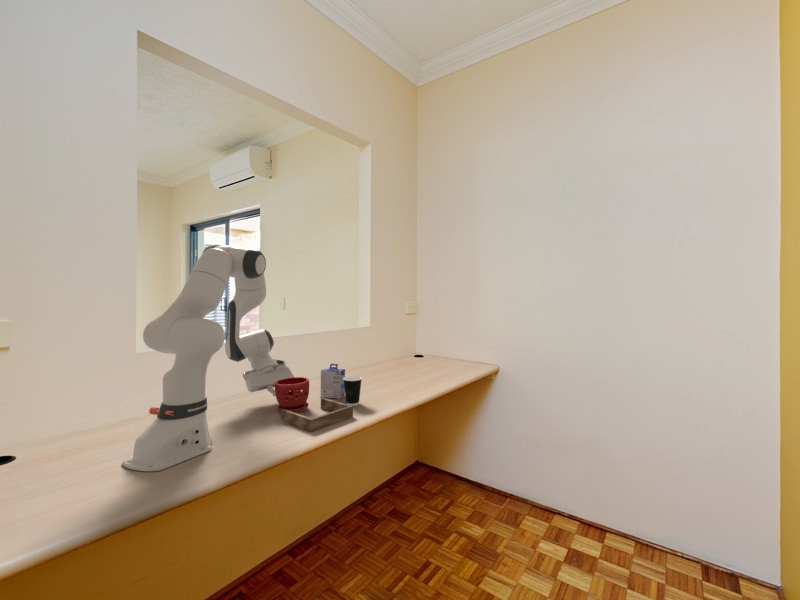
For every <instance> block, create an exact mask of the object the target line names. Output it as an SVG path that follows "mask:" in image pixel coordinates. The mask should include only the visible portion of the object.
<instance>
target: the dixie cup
mask: <svg viewBox="0 0 800 600" xmlns="http://www.w3.org/2000/svg"><path fill="white" fill-rule="evenodd" d="M343 380H344V387H345V396H344V397H345V402H346V403H345V404H347V405H350V406H353V407H356V406H358V405H359V402H360V398H361V389H362V388H361V387H362V380H363V377H362V376H358V375H348V376H345V377H344V378H343Z"/></svg>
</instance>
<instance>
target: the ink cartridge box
mask: <svg viewBox="0 0 800 600" xmlns="http://www.w3.org/2000/svg"><path fill="white" fill-rule="evenodd" d="M338 365H339V364H338V363H330V365H329V368H324V369H321V370H320V396H319V398H325V399H338V400H339V399H342V398H344V397H345V387H344V380H343V378H344V377H346V369H345V368H338Z"/></svg>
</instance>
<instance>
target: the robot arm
mask: <svg viewBox="0 0 800 600" xmlns="http://www.w3.org/2000/svg"><path fill="white" fill-rule="evenodd" d="M266 266H267V260H266V256H265V255H264V254H263V252H262V251H260V250H258V249H254V248H247V247H242V246H236V245H227V244H226V245H222V244H212V245H208V246H207V247H206V248H205V249H204V250H203V251H202V253H201V255H200V256H199V258H198V259H197V261H196V262H195V264H194V265H193V268H192V269H191V272H190V273H189V276H188V278H187V280H186V282H185V283H184V285H183V287H182V289H181V291H180V293H179V295H178V296H177V298H176V299H174V301H173V302H172V303H171V304H170V305H169V306H168V308H167V309H166V310H165V311H164V312H162V314H160V315H158V317H156V318H155V319H153V320H151V321H150V322H148V323H147V325H145V328H143V329H144V330H143V333H142V338H143V339H142V340H143V342H144V344H145V346H146V347H148V348H149V349H152V350H154V351H156V352H159V353H162V354H173V355H175V360H174V363H173V365H172V367H171V369H169V370H168V371H166V372H165V373H164V375H163V377H162V402H161V404H160V406H159V407H155V406H151V407H149V409H148V413H149V414H150V415H155V416H156V419H154V420H153V422H152V423H151V424H149V426H147V428H146V429H145V430H144V431H142V432H141V434H140V435H138V436H137V438H136V439H135V442H134V446H133V451H132V454H131V455H129V456H127V457H126V458H124V459H123V460H122V465H123V466H124V468H127V469H129V470H133V471H139V472H159V471H162V470H165V469H167V468H168V469H169V468H170V467H172V466H175V465H177V464H181V463H183V462H185V461H188V460H191V459H192V458H196V457H197V456H200V455H203V454H205V453H208V452H210V451H211V450H212V446H211V445H212V443H213V442H212V439H211V435H210V431H209V426H208V425H209V424H208V419H207V410H208V397H207V396H206V384H207V383H206V380H207V379H206V378H207V371H208V367H209V364H210V362H211V360H212V358H213V356H214V355H215V354H217V353H218V351H220V350H221V348H222V347H223V346H224V343H225V346H224V347H225V348H224V351H225V354H226V356H227V358H228V359H229V360H231V361H234V362H237V363H239V362H242V361H244V360H246V359H247V360H248V362H250V366H251V369H252V370H247V371H244V372H243V373H242V377H243V380H244V381H245V386H246V389H247V390H248V392H250V393H255V392H259V391H263V390H267V391H268V392H269V393H270V394H271V395H272V396H273V397H276V394H275V382H276V381H278V380H281V379H285V378H292V377H295V376H294V374H293V372H292V371H291V369H290V368H289V367H288V366H287V365H286V364H287V362H286V361H285V360H282V359H281V360H280V359H275V358H272V357H271V355H270V353H271V351H272V349H273V347H274V344H275V342H274V339H273V338H274V337H272V334H271V332H270V331H268V330H267V329H264V328H262V329H257V330H254V331H251V332H248V333H245V334H241V335H240V330H241V329H240V328H241V327H240V326H241V320H242V319H243V318H244V317H245V316H246V315H247V314H248V313H250V312H251V311H253V310H254V309H256V308H258V307H259V306H261V304H262V303H263V302H264V301H265V299H266V297H267V286H266V278H265V274H264V273H265V270H266ZM230 278H234V286H235V293H234V296H233V299H232V300H231V301H229V303H228V306H227V317H226V318H227V319H226V333H225V330H224V328H223V326H222V325H221V324H220V323H219V322H217V321H214V320H211V319H207V318H205V317H206V316H207V315H209V314H210V313H211V312H214V311H215V310H216V309H217V308H218V307H219V305H220V303H221V300H222V298H223V296H224V293H225V291H226V288H227V286H228V284H229V281H230ZM225 335H226V336H225ZM279 395H280V394H279Z"/></svg>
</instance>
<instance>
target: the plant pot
mask: <svg viewBox="0 0 800 600" xmlns="http://www.w3.org/2000/svg"><path fill="white" fill-rule="evenodd" d="M274 390H275V394H276V396H275V399H276V401H277V403H278V406H277V410H278V411H279V412H280V413H281V410H282V409H286V410H289V411H292V412H294V413H297V414H299V413H301V412H303V411H305V410H307V409H308V407H309V403H308V398H309V394H310V380H309V378H308V377H304V376H296V377H295V376H294V377H292V378H285V379H281V380H278V381H276V382H275V387H274ZM279 394H280V395H279Z"/></svg>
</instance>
